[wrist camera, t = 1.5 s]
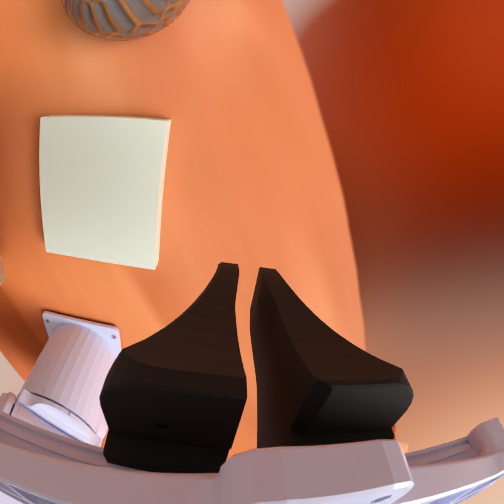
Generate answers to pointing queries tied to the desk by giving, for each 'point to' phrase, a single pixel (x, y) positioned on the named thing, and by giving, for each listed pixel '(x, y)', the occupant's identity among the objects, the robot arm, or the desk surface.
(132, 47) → the desk surface
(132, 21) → the vase
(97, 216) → the panel
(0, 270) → the shelf unit
